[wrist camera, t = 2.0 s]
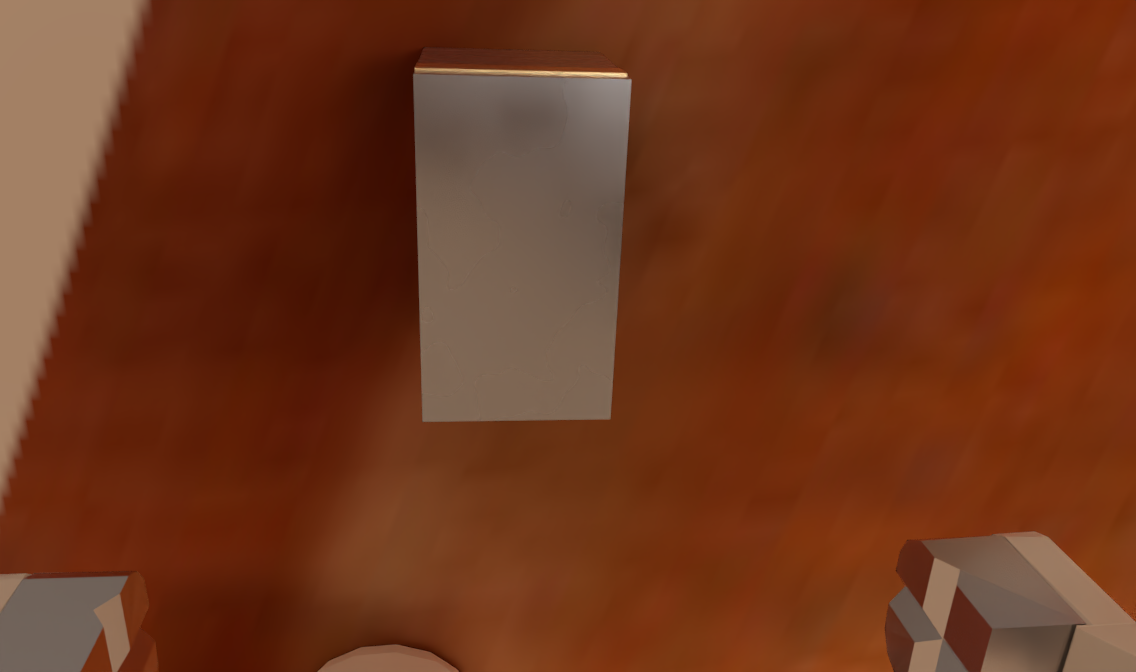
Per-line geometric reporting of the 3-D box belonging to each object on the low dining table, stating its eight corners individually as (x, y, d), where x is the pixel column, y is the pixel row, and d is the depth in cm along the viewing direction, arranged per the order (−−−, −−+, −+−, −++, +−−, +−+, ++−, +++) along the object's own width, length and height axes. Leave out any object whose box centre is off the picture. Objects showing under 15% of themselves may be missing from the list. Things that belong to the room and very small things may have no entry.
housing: (599, 49, 24) (631, 76, 19) (585, 337, 27) (610, 421, 23) (423, 44, 24) (413, 71, 19) (430, 337, 27) (422, 423, 22)
